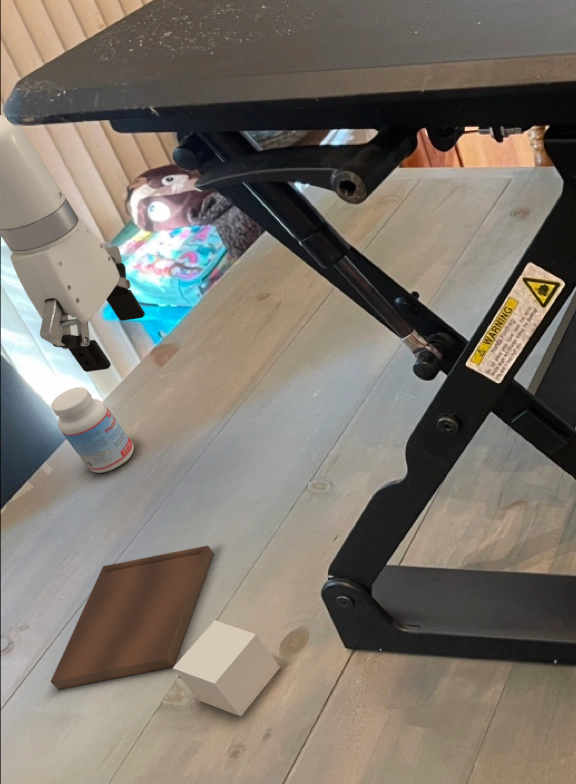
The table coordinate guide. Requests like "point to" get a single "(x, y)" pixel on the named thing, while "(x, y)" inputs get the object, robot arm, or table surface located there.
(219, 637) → the white cube
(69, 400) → the pill bottle
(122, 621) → the serving tray
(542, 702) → the table surface
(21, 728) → the table surface
